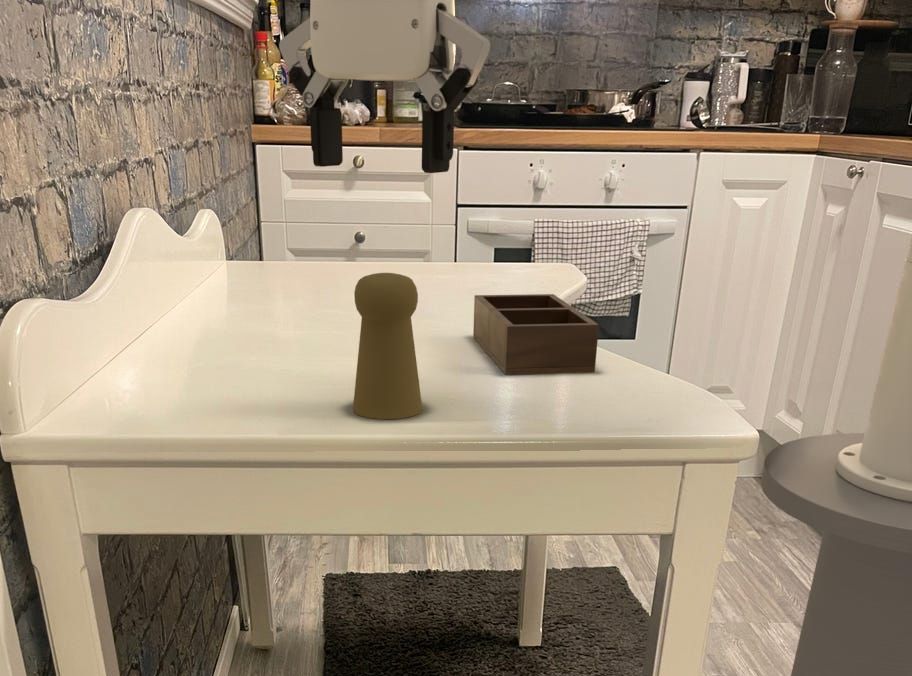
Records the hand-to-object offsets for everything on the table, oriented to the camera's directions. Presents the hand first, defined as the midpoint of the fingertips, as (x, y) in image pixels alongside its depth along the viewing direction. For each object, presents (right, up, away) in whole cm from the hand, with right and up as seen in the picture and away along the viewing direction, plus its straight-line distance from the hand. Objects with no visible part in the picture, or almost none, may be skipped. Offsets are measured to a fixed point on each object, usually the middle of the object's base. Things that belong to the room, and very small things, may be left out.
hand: (380, 168), depth 73 cm
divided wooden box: (+14, -6, +28) cm, 32 cm away
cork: (0, -17, +9) cm, 19 cm away
